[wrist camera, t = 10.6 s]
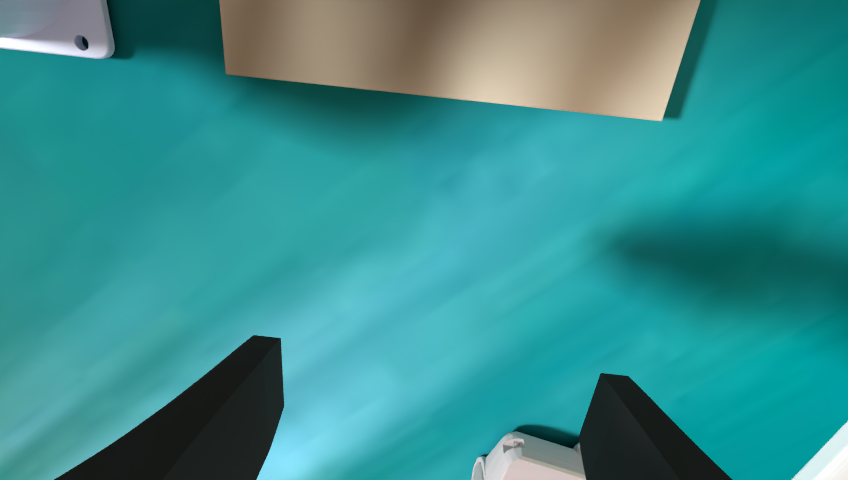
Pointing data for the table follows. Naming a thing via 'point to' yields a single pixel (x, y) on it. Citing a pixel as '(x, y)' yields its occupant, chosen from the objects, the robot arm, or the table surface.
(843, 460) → the external hard drive
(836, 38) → the table surface
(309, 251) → the table surface
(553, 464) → the mobile phone
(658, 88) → the socket board
